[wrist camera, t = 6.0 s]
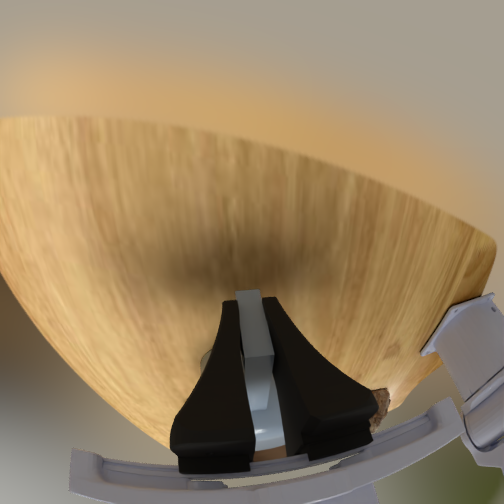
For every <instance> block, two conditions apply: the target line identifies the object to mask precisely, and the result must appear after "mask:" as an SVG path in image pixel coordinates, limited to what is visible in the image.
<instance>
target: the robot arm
mask: <svg viewBox="0 0 504 504" xmlns="http://www.w3.org/2000/svg"><path fill="white" fill-rule="evenodd" d="M494 296H495V294H494V293H493V292H492V293H489V294H487V295H484V296H481V297H478V298H476V299H473V300H470V301H467V302H464V303H461V304H458V305H455V306H452V307H451V308H450V309H449V310H448V312H447V314H446V315H445V317H444V318H443V320H442V322H441V323H440V325H439V326H438V328H437V329H436V331H435V332H434V334H433V335H432V337H431V338H430V340H429V341H428V343H427V344H426V345H425V347H424V348H423V350H422V351H421V353H420V355H421V356H425V355H427V354H430V353H432V352H435V351H437V353H438V355H439V356H440V358H441V360H442V361H443V363H444V365H445V367H446V368H447V370H448V372H449V374H450V376H451V377H452V379H453V381H454V383H455V385H456V387H457V389H458V391H459V393H460V395H461V397H462V399H463V400H464V402H466V403H465V404H463V405H462V406H461V409H462V411H461V414H460V416H459V414H458V411H457V409H456V407H455V406H454V403H453V401H452V399H451V397H447V398H445V399H443V400H442V401H440V402H438V403H436V404H434V405H433V406H431V407H430V408H429V409H428V410H427V411H426V412H424V413H422V414H420V415H418V416H416V417H414V418H411V419H409V420H407V421H405V422H402V423H400V424H398V425H395V426H393V427H390V428H388V429H385V430H383V431H381V432H378V433H375V434H372V435H371V432H370V429H369V428H370V427H371V424H370V421H369V419H370V418H371V417H372V416H373V415H374V414H375V413H376V412H377V411H378V409H379V405H378V403H377V400H376V398H375V396H374V395H373V393H372V391H371V390H370V389H368V388H366V387H365V386H363V385H361V384H359V383H358V382H356V381H355V380H353V379H352V378H350V377H349V376H347V375H346V374H344V373H343V372H342V371H340V370H339V369H338V368H337V367H335V366H334V365H333V364H331V363H330V362H329V361H328V360H327V359H326V358H324V357H323V356H322V355H321V354H320V353H319V352H318V351H317V350H316V349H315V348H314V347H313V346H312V345H311V344H310V343H309V342H308V340H307V339H306V338H305V337H304V336H303V335H302V333H301V332H300V331H299V330H298V328H297V327H296V326H295V325H294V323H293V322H292V321H291V319H290V318H289V317H288V315H287V314H286V312H285V311H284V309H283V308H282V306H281V304H280V303H279V301H278V299H277V298H276V297H265V298H262V305H263V309H264V313H265V318H266V321H267V325H268V329H269V333H270V337H271V342H272V346H273V350H274V354H275V355H274V362H273V369H272V374H273V378H274V381H275V385H276V390H277V396H278V401H279V407H280V413H281V419H282V426H283V432H284V440H285V447H286V455H287V457H286V458H280V459H274V460H267V461H259V462H253V458H254V454H255V446H256V436H255V430H254V425H253V420H252V415H251V410H250V405H249V400H248V394H247V389H246V383H245V377H244V371H243V365H242V359H241V347H240V314H239V306H238V301H237V300H229V301H224V302H223V303H222V315H221V320H220V325H219V329H218V333H217V336H216V340H215V343H214V346H213V349H212V351H211V354H210V357H209V359H208V361H207V364H206V366H205V368H204V370H203V372H202V374H201V376H200V379H199V380H198V382H197V384H196V386H195V388H194V389H193V391H192V393H191V394H190V396H189V398H188V399H187V401H186V402H185V404H184V405H183V407H182V408H181V409H180V411H179V412H178V414H177V415H176V416H175V419H174V422H173V425H172V428H171V432H170V450H171V451H172V452H173V453H175V454H176V455H177V456H178V465H159V464H147V463H137V462H129V461H122V460H115V459H109V458H103V457H102V456H101V455H99V454H96V453H93V452H89V451H85V450H80V449H76V448H72V452H71V462H70V477H69V491H70V492H71V493H74V494H77V495H80V496H84V497H87V498H90V499H94V500H98V501H102V502H106V503H110V504H379V501H378V497H377V494H376V491H375V487H374V484H373V482H375V481H377V480H380V479H382V478H384V477H387V476H389V475H391V474H393V473H395V472H397V471H400V470H401V469H403V468H405V467H407V466H409V465H411V464H413V463H415V462H417V461H419V460H421V459H422V458H424V457H426V456H428V455H429V454H431V453H433V452H434V451H436V450H438V449H439V448H441V447H442V446H444V445H446V444H447V443H449V442H450V441H452V440H453V439H455V438H456V437H458V436H459V435H460V436H461V439H462V441H463V443H464V445H465V446H466V447H467V448H468V449H469V450H470V452H471V453H472V455H473V457H474V459H475V461H476V463H477V465H479V466H489V467H500V468H502V471H503V474H504V438H503V439H501V440H498V439H499V438H501V437H502V436H504V316H503V314H502V313H501V312H500V310H499V309H498V308H497V307H496V305H495V304H494V303H493V301H492V299H493V298H494ZM497 440H498V441H497ZM357 453H359V454H357ZM354 454H357V455H354ZM351 455H354V456H351ZM348 456H351V457H349V458H346V459H344V460H341V461H340V462H339V463H338V464H336V465H334V466H332V467H330V468H329V471H325V472H320V473H316V474H312V475H307V476H303V477H298V478H293V479H288V480H283V481H277V482H271V483H265V484H258V485H251V486H243V487H233V488H228V486H227V485H224V484H223V482H220V481H191V480H215V479H233V478H245V477H254V476H262V475H269V474H275V473H282V472H287V471H293V470H298V469H303V468H307V467H312V466H316V465H319V464H324V463H327V462H331V461H335V460H338V459H342V458H345V457H348Z"/></svg>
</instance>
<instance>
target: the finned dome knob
mask: <svg viewBox="0 0 504 504" xmlns="http://www.w3.org/2000/svg"><path fill="white" fill-rule="evenodd" d="M235 298H236V300H237V301H238V306H239V314H240V347H241V359H242V365H243V371H244V377H245V383H246V389H247V394H248V400H249V405H250V410H251V415H252V420H253V425H254V430H255V436H256V446H255V451H260V450H266V449H271V448H275V447H279V446H282V445H285V440H284V432H283V426H282V419H281V413H280V407H279V401H278V396H277V390H276V385H275V381H274V378H273V374H272V369H273V362H274V355H275V354H274V350H273V346H272V342H271V337H270V333H269V329H268V325H267V321H266V318H265V313H264V309H263V305H262V299H261V295H260V290H259V289H254V290H242V291H235ZM211 351H212V350H210V351H209V352H208V353H206V354H205V356H204V357H203V358H202V360H201V364H200V372H201V374H202V372H203V370H204V368H205V366H206V364H207V361H208V359H209V357H210V354H211Z"/></svg>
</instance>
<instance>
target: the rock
mask: <svg viewBox="0 0 504 504" xmlns="http://www.w3.org/2000/svg"><path fill="white" fill-rule="evenodd" d="M372 393H373V395H374V396H375V398H376V400H377V403H378V405H379V409H378V411H377V412H376V413H375V414H374V415H373V416H372V417H371V418H370V419H369V421H370V424H371V427H370V428H369V429H370V432H371V433H373V432H375V431H377V429H378V428H379V426H380V424H381V421H382V420H383V419H384V418H385V417H386V415H387V413H388V412H387V411H388V406H389V404H390V401H391V400H390V399H389V398H390V396H389V395H390V394H389V392H388V391H387V390H384V389H381V390H376V391H372Z"/></svg>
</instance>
